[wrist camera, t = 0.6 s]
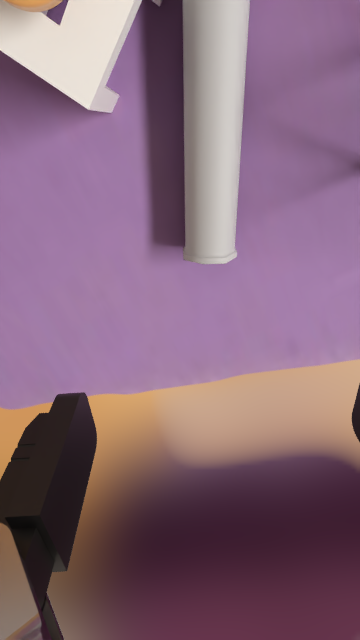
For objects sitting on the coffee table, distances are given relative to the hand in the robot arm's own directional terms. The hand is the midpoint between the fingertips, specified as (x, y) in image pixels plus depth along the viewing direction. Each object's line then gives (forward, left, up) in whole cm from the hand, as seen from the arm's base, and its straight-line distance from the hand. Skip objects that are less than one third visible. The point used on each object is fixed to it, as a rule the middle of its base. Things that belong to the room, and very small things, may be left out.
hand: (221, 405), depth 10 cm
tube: (-8, -3, -27) cm, 29 cm away
